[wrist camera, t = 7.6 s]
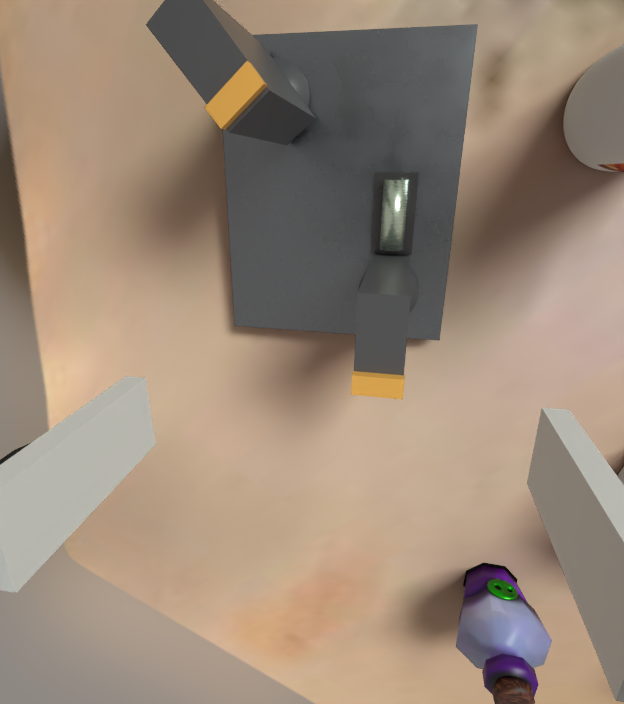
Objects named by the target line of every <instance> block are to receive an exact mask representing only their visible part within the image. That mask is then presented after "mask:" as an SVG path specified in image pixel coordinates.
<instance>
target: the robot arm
mask: <svg viewBox="0 0 624 704" xmlns="http://www.w3.org/2000/svg"><path fill="white" fill-rule="evenodd" d="M155 445H156V442H155V436H154V430H153V423H152V417H151V410H150V404H149V397H148V391H147V384H146V378H143V377H130V376H125V377H124V378H123V379H121V380H120V381H118V382H117V383H116V384H114V385H113V386H111V387H110V388H108V389H107V390H106V391H104V392H103V393H101V394H100V395H99V396H97V397H96V398H94V399H93V400H91V401H90V402H89V403H87V404H86V405H84V406H83V407H82V408H80V409H79V410H77V411H76V412H74V413H73V414H72V415H70V416H69V417H67V418H66V419H65V420H63V421H62V422H60V423H59V424H57V425H56V426H55V427H53V428H52V429H50V430H49V431H47V432H46V433H45V434H43V435H42V436H40V437H39V438H38V439H36V440H35V441H33V442H32V443H29V444H27V445H25V446H23V447H21V448H18V449H16V450H14V451H12V452H11V453H10V454H8V455H7V456H5V457H4V458H2V459H1V460H0V590H2V591H7V592H13V593H17V592H18V591H19V590H20V589H21V588H22V586H23V585H24V584H25V583H26V582H27V581H28V580H29V579H30V578H31V577H32V576H33V575H34V574H35V572H37V570H38V569H39V568H40V567H41V566H42V565H43V564H44V563H45V562H46V561H47V560H48V559H49V558H50V557H51V556H52V554H53V553H54V552H55V551H56V550H57V549H58V548H59V547H60V546H61V545H62V544H63V543H64V542H65V541H66V540H67V538H68V537H69V536H70V535H71V534H72V533H73V532H74V531H75V530H76V529H77V528H78V527H79V526H80V525H81V524H82V523H83V521H84V520H85V519H86V518H87V517H88V516H89V515H90V514H91V513H92V512H93V511H94V510H95V509H96V508H97V507H98V505H99V504H100V503H101V502H102V501H103V500H104V499H105V498H106V497H107V496H108V495H109V494H110V493H111V492H112V491H113V489H114V488H115V487H116V486H117V485H118V484H119V483H120V482H121V481H122V480H123V479H124V478H125V477H126V476H127V475H128V473H129V472H130V471H131V470H132V469H133V468H134V467H135V466H136V465H137V464H138V463H139V462H140V461H141V460H142V459H143V457H144V456H145V455H146V454H147V453H148V452H149V451H150V450H151V449H152V448H153V447H154V446H155ZM527 484H528V487H529V489H530V492H531V494H532V497H533V499H534V501H535V504H536V506H537V509H538V511H539V514H540V516H541V519H542V521H543V523H544V526H545V528H546V531H547V533H548V536H549V538H550V541H551V543H552V546H553V548H554V550H555V553H556V555H557V558H558V560H559V563H560V565H561V568H562V570H563V572H564V575H565V577H566V580H567V582H568V585H569V587H570V590H571V592H572V594H573V597H574V599H575V602H576V604H577V607H578V609H579V612H580V614H581V617H582V619H583V621H584V624H585V626H586V629H587V631H588V634H589V636H590V639H591V641H592V643H593V646H594V648H595V651H596V653H597V656H598V658H599V661H600V663H601V665H602V668H603V670H604V673H605V675H606V678H607V680H608V683H609V685H610V688H611V690H612V692H613V695H614V697H615V700H616V701H621V702H624V485H623V483H622V482H621V481H620V479H619V478H618V477H617V475H616V474H615V472H614V471H613V470H612V468H611V467H610V465H609V464H608V463H607V461H606V460H605V459H604V457H603V456H602V454H601V453H600V452H599V450H598V449H597V447H596V446H595V445H594V443H593V442H592V441H591V439H590V438H589V436H588V435H587V434H586V432H585V431H584V430H583V428H582V427H581V425H580V424H579V423H578V421H577V420H576V418H575V417H574V416H573V414H572V413H571V412H570V410H567V409H553V408H542V409H541V414H540V419H539V424H538V429H537V435H536V440H535V445H534V450H533V455H532V460H531V465H530V470H529V475H528V480H527Z"/></svg>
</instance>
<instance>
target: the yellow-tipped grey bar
mask: <svg viewBox="0 0 624 704" xmlns="http://www.w3.org/2000/svg"><path fill="white" fill-rule="evenodd" d="M146 26H147V27H148V28H149V30H150V31H151V32H152V33H153V35H154V36H155V37H156V39H157V40H158V41H159V43H160V44H161V45H162V46H163V48H164V49H165V50H166V52H167V53H168V54H169V56H170V57H171V58H172V59H173V61H174V62H175V63H176V65H177V66H178V67H179V69H180V70H181V71H182V72H183V74H184V75H185V76H186V78H187V79H188V80H189V82H190V83H191V84H192V85H193V87H194V88H195V89H196V91H197V92H198V93H199V95H200V96H201V97H202V98H203V100H204V101H205V102H206V104H207V105H206V106H205V107H204V108H205V109H206V110H207V111H208V113H209V114H210V115H211V117H212V118H213V119H214V120H215V122H216V123H217V124H218V126H219V127H220V128H221V129H224V130H227V131H228V132H229V133H233V134H238V135H242V136H247V137H251V138H256V139H260V140H265V141H269V142H273V143H278V144H282V145H288V144H289V143H290V142H291V141H292V140H293V139H294V138H295V137H296V136H297V135H298V134H300V133H301V132H302V131H303V130H304V129H305V128H306V127H307V126H308V125H309V124H310V123H311V122H312V121H313V120H314V119H315V116H314V115H313V114H312V112H311V111H310V109H309V107H310V89H309V85H308V82H307V80H306V78H305V76H304V74H303V73H302V72H301V71H300V70H299V69H298V68H297V67H296V66H295V65H294V64H293V63H291V62H290V61H288V60H285V59H281V58H272V57H271V56H270V54H269V53H268V51H267V50H266V49H265V47H264V46H263V45H262V44H261V43H260V42H259V41H258V40H257V39H256V38H255V37H254V36H253V35H251V34H250V33H249V32H248V31H247V30H246V29H245V28H244V27H242V26H241V25H240V24H239V23H238V22H237V21H236V20H235V19H233V18H232V17H231V16H230V15H229V14H228V13H227V12H226V11H225V10H223V9H222V8H221V7H220V6H219V5H218V4H217V3H216V2H214V1H213V0H165V1H164V2H163V3H162V4H161V6H160V7H159V8H158V10H157V11H156V12H155V14H154V15H153V16H152V17H151V19H150V20H149V21H148V23H147V24H146Z"/></svg>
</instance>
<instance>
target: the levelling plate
mask: <svg viewBox="0 0 624 704" xmlns="http://www.w3.org/2000/svg"><path fill="white" fill-rule="evenodd" d="M477 26H478V24H475V25H454V26H433V27H412V28H391V29H370V30H349V31H328V32H307V33H286V34H265V35H253V36H254V37H255V38H256V39H257V40H258V41H259V42H260V43H261V44H262V45H263V46H264V47H265V49H266V50H267V51H268V53H269V54H270V56H271V57H272V58H281V59H285V60H288V61H290V62H291V63H293V64H294V65H295V66H296V67H297V68H298V69H299V70H300V71H301V72H302V73H303V74H304V76H305V78H306V80H307V82H308V85H309V89H310V107H309V109H310V111H311V112H312V114H313V115H314V116H315V119H314V120H313V121H312V122H311V123H310V124H309V125H308V126H307V127H306V128H305V129H304V130H303V131H302V132H301V133H300V134H298V135H297V136H296V137H295V138H294V139H293V140H292V141H291V142H290V143H289V144H288V145H282V144H278V143H273V142H269V141H265V140H260V139H256V138H251V137H247V136H242V135H238V134H233V133H229V132H228V131H227V130H224V129H223V143H224V159H225V175H226V192H227V208H228V224H229V241H230V257H231V274H232V290H233V306H234V323H235V326H245V327H259V328H273V329H287V330H301V331H315V332H330V333H344V334H356V317H357V295H358V289H359V284H360V282H361V279H362V277H363V275H364V274H365V273H366V270H367V268H368V265H369V263H370V260H371V258H372V255H382V256H407V257H409V265H410V270H411V271H412V272H413V274H414V275H415V277H416V279H417V283H418V289H419V295H418V300H417V303H416V305H415V307H414V308H413V310H412V311H411V312H410V313H409V322H408V332H407V338H414V339H429V340H440V331H441V323H442V315H443V307H444V298H445V290H446V282H447V274H448V265H449V257H450V249H451V241H452V232H453V224H454V216H455V208H456V199H457V191H458V183H459V175H460V166H461V158H462V150H463V141H464V133H465V125H466V117H467V108H468V100H469V92H470V84H471V75H472V67H473V59H474V51H475V42H476V34H477Z"/></svg>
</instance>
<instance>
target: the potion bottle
mask: <svg viewBox="0 0 624 704" xmlns="http://www.w3.org/2000/svg"><path fill="white" fill-rule="evenodd" d="M463 586H464V587H465V591H464V599H463V605H462V609H461V613H460V617H459V625H458V633H457V642H456V647H457V648H458V649H459V650H460V651H461V652H462V653H463V654H464V655H465V656H466V657H467V658H468V659H469V660H470V661H471V662H472V663H473V664H474V665H475V666H476V667H477V668H480V669H483V672H482V673H483V679H484V686H485V687H486V688H487V689H488V690H489V691H490V692H491V693H492V694H493V698H494V702H495V704H535V700H534V696H535V693H536V690H537V687H538V681H537V678H536V674H535V670H534V669H533V668H535V667H538V666H541V665H544V662H545V659H546V656H547V654H548V651H549V648H550V645H551V642H552V640H551V638H550V636H549V634H548V633H547V631H546V629H545V627H544V626H543V624H542V622H541V620H540V619H539V617H538V615H537V613H536V612H535V610H534V609H533V608H532V607H531V606H530V605H529V604H528V603H527V601H526V599H525V597H524V596H523V594H522V592H521V590H520V588H519V587H518V585H517V579H516V578H515V577H514V575H513V574H512V573H511V572H510V571H509V570H508V569H507V568H506V567H505V566H500V565H494V564H488V563H482V564H480V565H478V566H476V567H474V568H471V569H469V570H467V571H466V575H465V580H464V584H463Z"/></svg>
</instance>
